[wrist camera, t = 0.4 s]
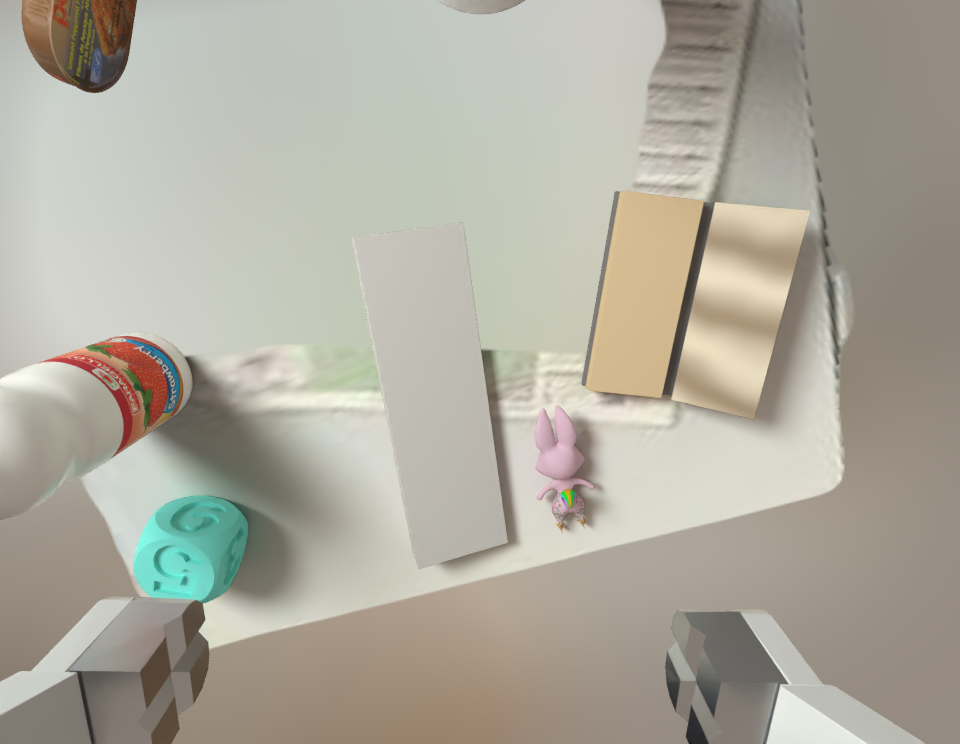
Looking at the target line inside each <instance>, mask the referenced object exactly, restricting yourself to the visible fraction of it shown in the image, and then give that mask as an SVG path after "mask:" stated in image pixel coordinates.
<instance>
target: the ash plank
mask: <svg viewBox="0 0 960 744" xmlns="http://www.w3.org/2000/svg"><path fill="white" fill-rule="evenodd" d="M809 213H810V211H808V210H797V209H785V208H774V207H763V206H752V205H741V204H730V203H718V202H715V206H714V210H713V215H712V219H711V224H710V228H709V232H708V237H707V241H706V246H705V250H704V255H703V259H702V264H701V268H700V273H699V277H698V282H697V286H696V291H695V295H694V300H693V304H692V309H691V313H690V318H689V322H688V327H687V331H686V336H685V340H684V345H683V349H682V354H681V358H680V363H679V367H678V372H677V376H676V381H675V385H674V390H673V394H672V399H671V400H675V401H679V402H683V403H688V404H692V405H696V406H700V407H705V408H709V409H713V410H717V411H721V412H726V413H730V414H734V415H738V416H743V417H747V418H751V419H754V417H755V414H756V410H757V406H758V403H759V399H760V395H761V391H762V388H763V384H764V380H765V377H766V373H767V369H768V366H769V362H770V358H771V354H772V351H773V347H774V343H775V340H776V336H777V332H778V328H779V325H780V321H781V317H782V314H783V310H784V306H785V302H786V299H787V295H788V291H789V288H790V284H791V280H792V276H793V273H794V269H795V265H796V262H797V258H798V254H799V251H800V247H801V243H802V239H803V236H804V232H805V228H806V225H807V221H808V217H809Z"/></svg>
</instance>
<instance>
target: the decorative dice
mask: <svg viewBox="0 0 960 744" xmlns="http://www.w3.org/2000/svg"><path fill="white" fill-rule="evenodd" d="M247 538H248V522H247V520H246V518H245V517H244V515H243V514H242V512H241V511H240V510H239V509H238V508H237V507H236V506H234V505H233V504H232V503H230V502H228V501H226V500H224V499H221V498H217V497H212V496H189V497H184V498H180V499H176V500H173V501H171V502H169V503H167V504H165V505H164V506H162V507H161V508H159V509H158V510H157V511H156V512H155V513H154V515H153V516H152V517H151V519H150V520H149V522H148V523H147V525H146V527H145V529H144V531H143V533H142V535H141V537H140V540H139V543H138V546H137V549H136V553H135V557H134V575H135V577H136V579H137V581H138V583H139V585H140V586H141V587H142V589H143V590H144V591H145V592H146V593H147V594H148V595H150V596H151V597H152V598H171V599H193V600H198V601H200V602H201V603H206V602H209V601H211V600H213V599H215V598H217V597H219V596H220V595H222V594H224V593H225V592H226V591H227V589H228V588H229V587H230V585H231V583H232V582H233V580H234V578H235V576H236V574H237V571H238V569H239V567H240V564H241V561H242V558H243V555H244V552H245V548H246V543H247Z"/></svg>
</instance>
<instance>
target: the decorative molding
mask: <svg viewBox="0 0 960 744" xmlns="http://www.w3.org/2000/svg"><path fill="white" fill-rule="evenodd" d="M351 239H352V244H353V249H354V255H355V259H356V265H357V270H358V274H359V280H360V285H361V290H362V296H363V301H364V306H365V311H366V315H367V321H368V326H369V331H370V336H371V341H372V346H373V352H374V357H375V362H376V367H377V372H378V377H379V382H380V387H381V392H382V397H383V403H384V408H385V413H386V418H387V423H388V428H389V433H390V438H391V443H392V448H393V453H394V459H395V464H396V469H397V474H398V479H399V484H400V489H401V494H402V499H403V504H404V510H405V515H406V520H407V525H408V530H409V535H410V540H411V545H412V550H413V553H414V556H415V560H416V563H417V566H418V569H421V568H425V567H428V566H431V565H435V564H438V563H441V562H445V561H448V560H452V559H455V558H458V557H462V556H465V555H468V554H472V553H475V552H478V551H482V550H485V549H489V548H492V547H495V546H499V545H502V544H505V543H508V540H507V533H506V526H505V518H504V511H503V504H502V497H501V490H500V483H499V475H498V468H497V461H496V454H495V447H494V440H493V432H492V425H491V418H490V411H489V404H488V397H487V389H486V382H485V375H484V368H483V361H482V354H481V346H480V339H479V332H478V325H477V318H476V311H475V303H474V297H473V289H472V282H471V275H470V268H469V260H468V253H467V246H466V239H465V232H464V225H463V222H459V223H451V224H444V225H437V226H429V227H423V228H416V229H409V230H402V231H395V232H388V233H381V234H373V235H366V236H359V237H352V238H351Z"/></svg>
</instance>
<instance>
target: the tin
mask: <svg viewBox="0 0 960 744" xmlns="http://www.w3.org/2000/svg"><path fill="white" fill-rule="evenodd" d="M136 3H137V0H23V2H22V25H23V31H24V35H25V38H26V42H27V44H28V47H29V49H30V51H31V53H32V55H33V57H34V58H35V60H36V61H37V62H38V64H39V65H40V66H41V67H42V68H43V69H44V70H45V71H46V72H47V73H48V74H50V75H51V76H53V77H55V78H56V79H58V80H60V81H63V82H65V83H68V84H71V85H73V86H76V87H77V88H79V89H81V90H83V91H86V92H91V93H99V92H103V91H105V90H107V89H109V88H111V87H112V86H113V85H114V84H115V83H116V82H117V81H118V80H119V78H120V77H121V75H122V73H123V71H124V70H125V67H126V64H127V61H128V56H129V50H130V43H131V37H132V29H133V23H134V16H135V10H136Z"/></svg>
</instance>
